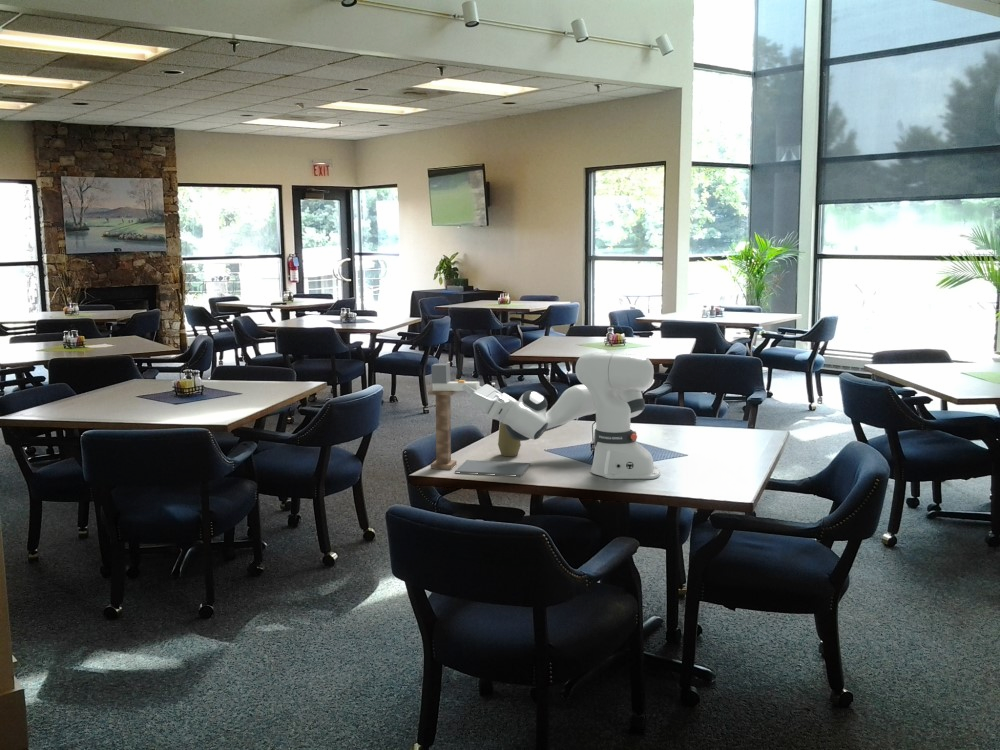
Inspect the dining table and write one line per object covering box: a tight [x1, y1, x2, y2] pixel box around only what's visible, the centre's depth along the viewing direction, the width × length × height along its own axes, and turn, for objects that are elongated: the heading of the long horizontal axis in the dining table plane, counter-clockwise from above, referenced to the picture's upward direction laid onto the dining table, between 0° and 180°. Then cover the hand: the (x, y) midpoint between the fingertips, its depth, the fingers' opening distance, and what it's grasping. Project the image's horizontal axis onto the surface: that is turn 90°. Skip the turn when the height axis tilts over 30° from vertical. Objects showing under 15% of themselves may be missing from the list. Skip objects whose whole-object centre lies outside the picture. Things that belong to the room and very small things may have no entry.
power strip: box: [430, 362, 481, 392], centre depth 307 cm, size 15×5×8 cm, turn 78°
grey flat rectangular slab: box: [454, 459, 531, 477], centre depth 309 cm, size 22×16×1 cm
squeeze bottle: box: [497, 421, 522, 457], centre depth 329 cm, size 8×8×18 cm
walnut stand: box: [427, 388, 459, 470], centre depth 310 cm, size 8×8×26 cm
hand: (465, 384), depth 307 cm, fingers closed on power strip, 4 cm apart
